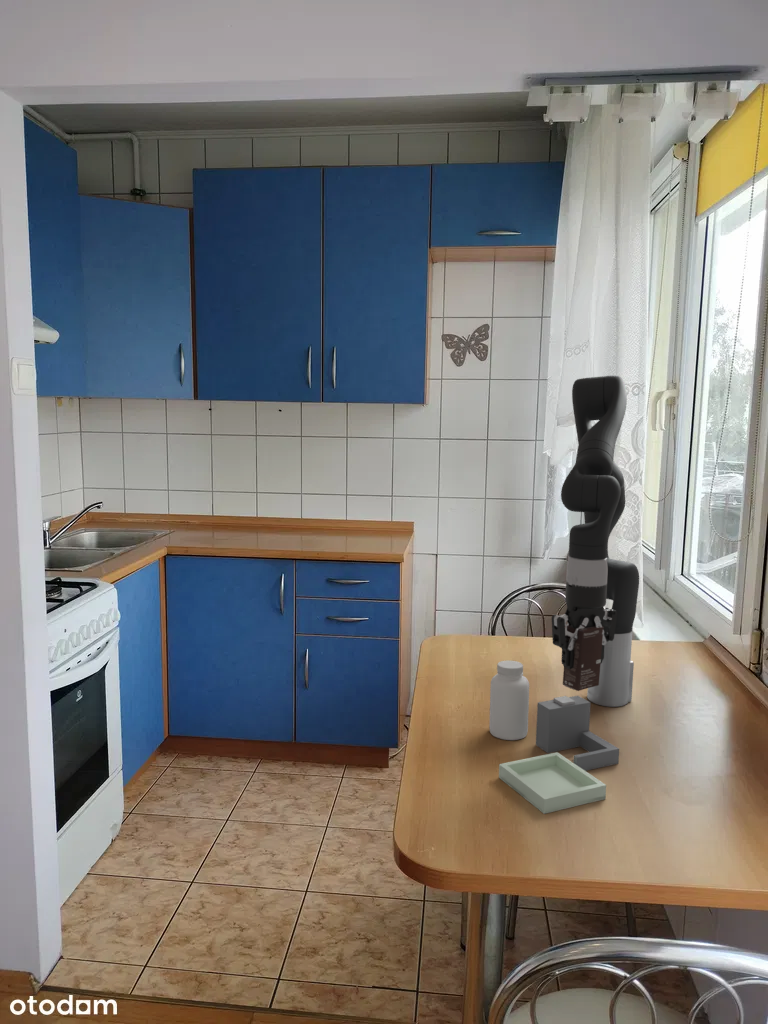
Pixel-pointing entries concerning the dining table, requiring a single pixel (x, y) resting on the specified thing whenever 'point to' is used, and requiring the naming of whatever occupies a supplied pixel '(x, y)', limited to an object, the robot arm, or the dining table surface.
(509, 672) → the pill bottle
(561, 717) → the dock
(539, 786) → the tray
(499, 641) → the dining table surface
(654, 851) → the dining table surface
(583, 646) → the box
